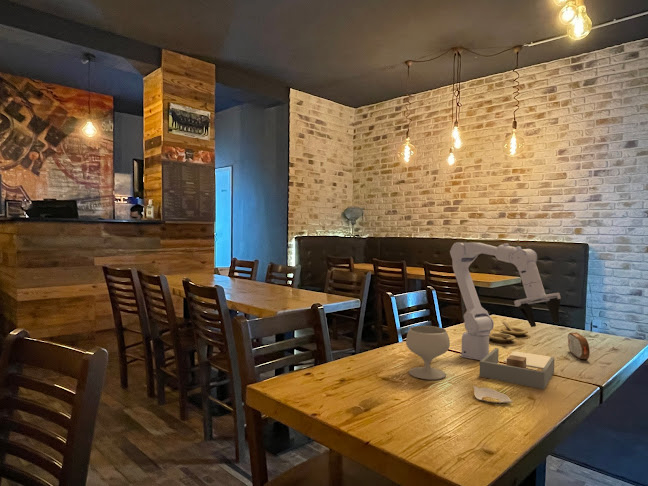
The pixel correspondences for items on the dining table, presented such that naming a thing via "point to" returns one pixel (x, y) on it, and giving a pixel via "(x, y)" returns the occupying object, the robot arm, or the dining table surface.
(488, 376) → the open box
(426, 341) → the chalice
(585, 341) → the tin
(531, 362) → the mat
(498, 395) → the pale veined leaf
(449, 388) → the dining table surface
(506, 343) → the tableware set
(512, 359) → the walnut block
